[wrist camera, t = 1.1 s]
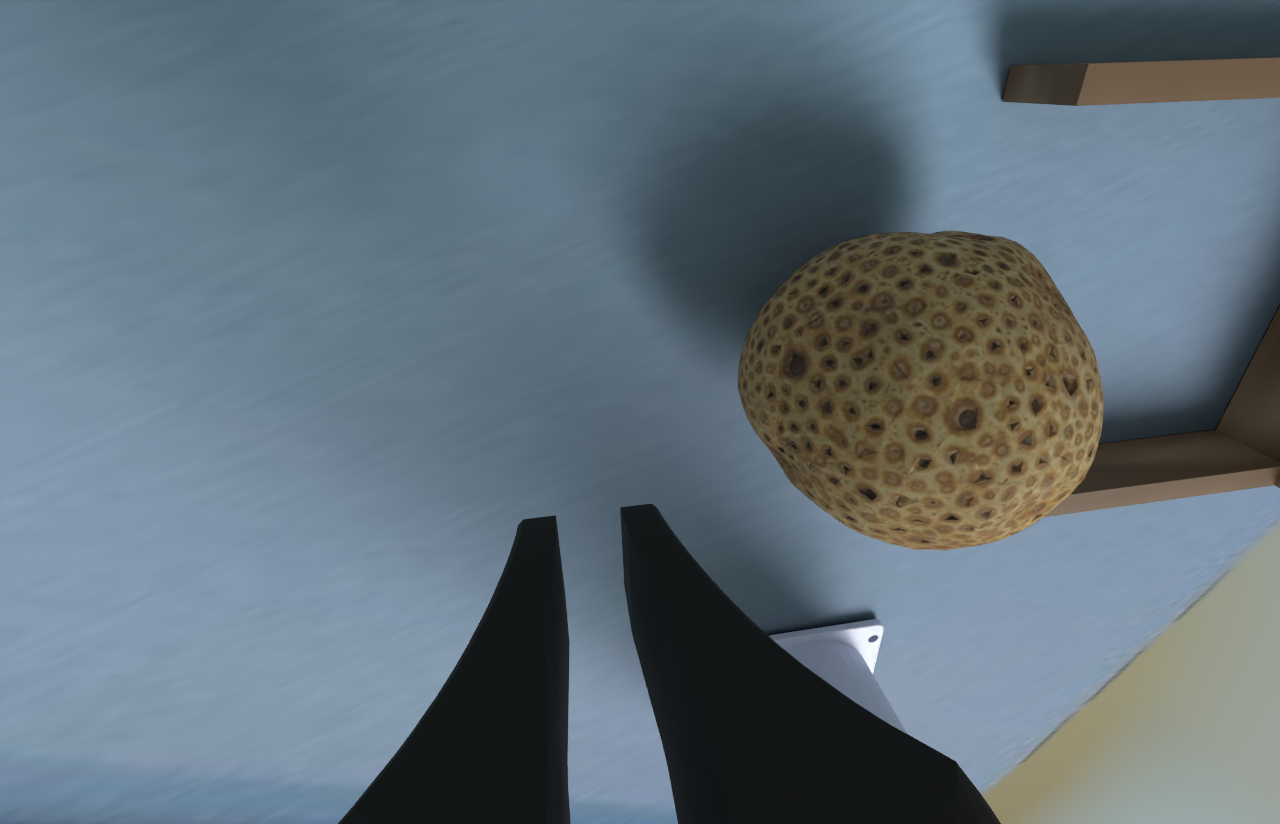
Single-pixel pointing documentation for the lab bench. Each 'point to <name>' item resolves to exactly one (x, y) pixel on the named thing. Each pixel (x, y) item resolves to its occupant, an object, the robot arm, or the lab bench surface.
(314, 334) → the lab bench surface
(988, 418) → the natural sponge
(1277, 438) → the wooden u-shaped fence
